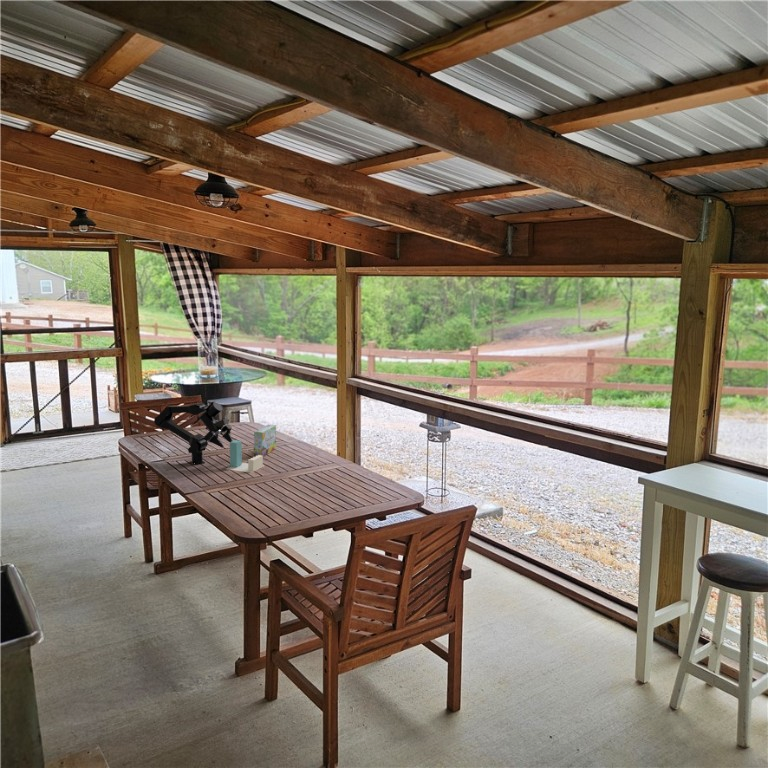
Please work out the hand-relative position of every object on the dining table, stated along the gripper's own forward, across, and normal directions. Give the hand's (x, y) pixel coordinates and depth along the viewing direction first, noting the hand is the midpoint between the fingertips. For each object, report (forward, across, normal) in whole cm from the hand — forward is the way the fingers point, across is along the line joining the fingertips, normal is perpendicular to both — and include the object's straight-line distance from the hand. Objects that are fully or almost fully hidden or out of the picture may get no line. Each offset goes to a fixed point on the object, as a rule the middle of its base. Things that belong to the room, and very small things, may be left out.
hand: (227, 444), depth 336 cm
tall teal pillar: (+11, 0, +4) cm, 12 cm away
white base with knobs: (+16, 0, +1) cm, 16 cm away
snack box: (+12, +32, +6) cm, 35 cm away
